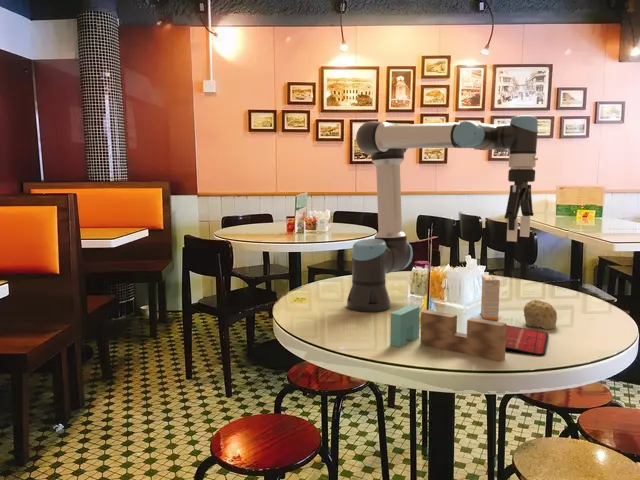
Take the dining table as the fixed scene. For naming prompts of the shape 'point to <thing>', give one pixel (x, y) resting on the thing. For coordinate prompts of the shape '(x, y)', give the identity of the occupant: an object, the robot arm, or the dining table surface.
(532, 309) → the decorative item
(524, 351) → the binder
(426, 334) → the walnut board
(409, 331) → the teal plate
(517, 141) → the robot arm
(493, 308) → the supplement box
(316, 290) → the dining table surface
